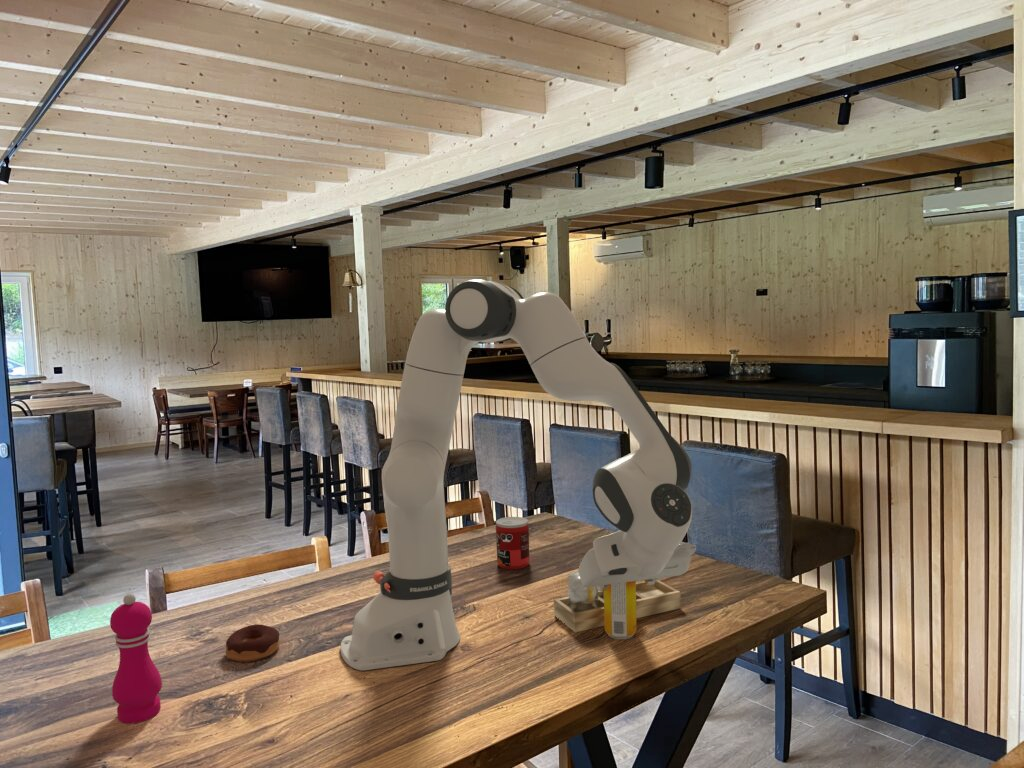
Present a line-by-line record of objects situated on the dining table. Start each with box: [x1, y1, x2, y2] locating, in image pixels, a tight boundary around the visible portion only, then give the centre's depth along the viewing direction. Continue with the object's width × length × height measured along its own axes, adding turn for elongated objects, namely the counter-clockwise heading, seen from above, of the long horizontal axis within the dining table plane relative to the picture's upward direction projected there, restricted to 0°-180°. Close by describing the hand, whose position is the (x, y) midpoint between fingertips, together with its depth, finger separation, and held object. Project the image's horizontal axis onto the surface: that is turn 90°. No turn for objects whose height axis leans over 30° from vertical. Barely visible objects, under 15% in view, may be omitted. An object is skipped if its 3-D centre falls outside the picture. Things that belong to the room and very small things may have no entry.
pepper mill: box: [109, 593, 163, 724], centre depth 123 cm, size 7×7×20 cm
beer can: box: [604, 581, 637, 640], centre depth 147 cm, size 6×6×15 cm
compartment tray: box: [553, 579, 682, 633], centre depth 158 cm, size 25×9×4 cm, turn 114°
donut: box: [225, 624, 281, 663], centre depth 145 cm, size 10×10×4 cm
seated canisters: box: [567, 571, 604, 613], centre depth 156 cm, size 14×6×7 cm, turn 114°
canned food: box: [495, 516, 530, 570], centre depth 188 cm, size 8×8×11 cm
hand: (624, 584), depth 144 cm, fingers open, 8 cm apart
